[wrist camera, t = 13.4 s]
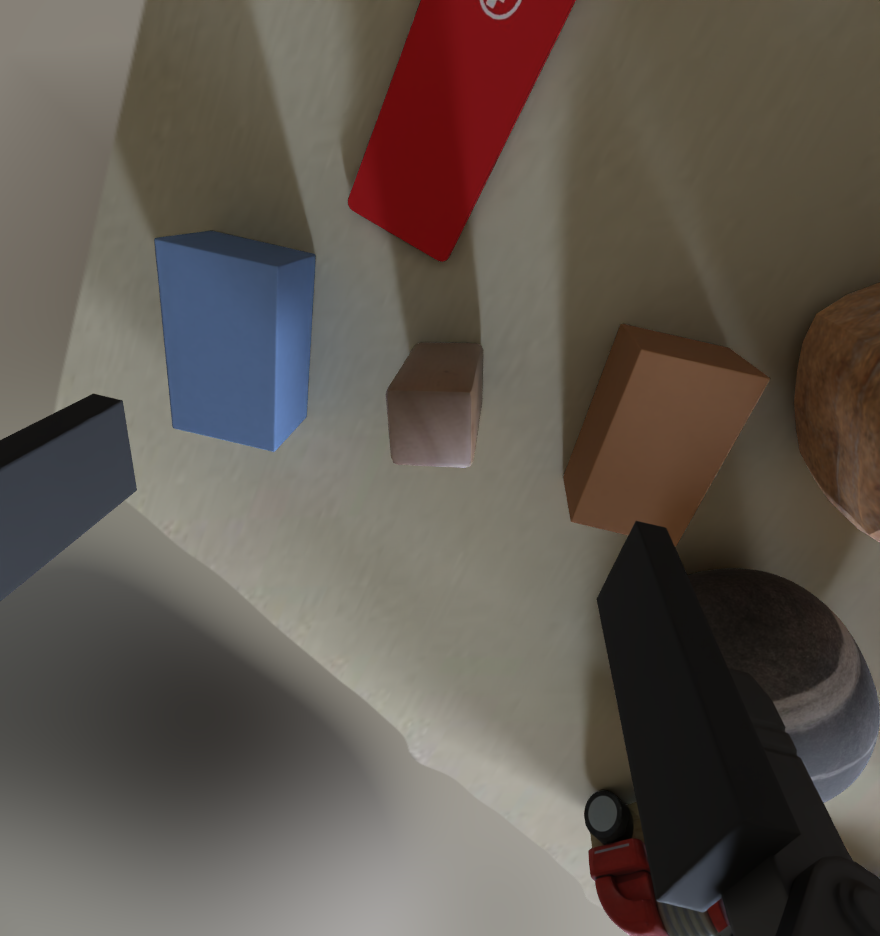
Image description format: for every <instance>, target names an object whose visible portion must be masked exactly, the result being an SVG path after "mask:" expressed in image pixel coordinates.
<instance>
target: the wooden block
mask: <svg viewBox="0 0 880 936" xmlns="http://www.w3.org/2000/svg"><path fill="white" fill-rule="evenodd" d="M482 391H483V348H482V346H481V345H480V344H477V343H423V342H420V343H418V344H416V345H415V346H414V348H413V349H412V351H411V353H410V354H409V356H408V357H407V359H406V360H405V362H404V364H403V365H402V367H401V368H400V370H399V371H398V373H397V374H396V376H395V378H394V379H393V381H392V382H391V384H390V385H389V387H388V389H387V392H386V403H387V415H388V427H389V439H390V451H391V458H392V460H393V463H395V464H398V465H415V466H438V467H461V468H465V467H469V466H471V464H472V462H473V460H474V454H475V448H476V441H477V434H478V428H479V421H480V415H481V408H482Z"/></svg>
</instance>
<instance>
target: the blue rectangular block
mask: <svg viewBox="0 0 880 936" xmlns="http://www.w3.org/2000/svg"><path fill="white" fill-rule="evenodd" d="M154 242H155V252H156V262H157V272H158V283H159V293H160V303H161V313H162V324H163V334H164V344H165V354H166V365H167V375H168V385H169V395H170V406H171V416H172V426H173V428H175V429H179V430H183V431H188V432H192V433H196V434H200V435H205V436H209V437H213V438H217V439H222V440H226V441H230V442H234V443H239V444H243V445H247V446H251V447H256V448H260V449H264V450H268V451H273V452H274V451H276V450H277V448H278V447H279V446H280V445H281V444H282V443H283V442H284V441H285V440H286V439H287V438H288V437H289V435H290V434H291V433H292V432H293V431H294V430H295V429H296V428H297V427H298V426H299V425H300V423H301V422H302V421H303V420H304V419H305V418H306V417H307V400H308V382H309V365H310V347H311V329H312V312H313V294H314V276H315V259H316V255H315V254H313V253H308V252H304V251H299V250H295V249H291V248H286V247H282V246H277V245H273V244H269V243H264V242H260V241H255V240H251V239H247V238H242V237H238V236H233V235H229V234H224V233H220V232H216V231H205V232H197V233H189V234H182V235H174V236H166V237H159V238H155V239H154Z"/></svg>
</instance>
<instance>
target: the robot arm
mask: <svg viewBox="0 0 880 936" xmlns="http://www.w3.org/2000/svg"><path fill="white" fill-rule="evenodd" d="M136 490H137V488H136V482H135V475H134V469H133V463H132V457H131V450H130V444H129V438H128V431H127V425H126V419H125V413H124V406H123V401H122V400H118V399H113V398H109V397H105V396H101V395H96V394H92V395H90V396H88V397H86V398H84V399H82V400H80V401H78V402H76V403H74V404H72V405H70V406H68V407H66V408H64V409H62V410H60V411H58V412H56V413H54V414H52V415H50V416H48V417H46V418H44V419H42V420H40V421H38V422H36V423H34V424H32V425H30V426H28V427H26V428H24V429H22V430H20V431H18V432H16V433H14V434H12V435H10V436H8V437H6V438H4V439H2V440H0V601H1V600H3V599H4V598H5V597H6V596H7V595H9V594H10V593H11V592H12V591H14V590H15V589H16V588H17V587H18V586H20V585H21V584H22V583H24V582H25V581H26V580H27V579H28V578H30V577H31V576H32V575H33V574H34V573H36V572H37V571H38V570H39V569H41V568H42V567H43V566H44V565H45V564H47V563H48V562H49V561H51V560H52V559H53V558H54V557H55V556H57V555H58V554H59V553H60V552H62V551H63V550H64V549H65V548H66V547H68V546H69V545H70V544H71V543H73V542H74V541H75V540H76V539H78V538H79V537H80V536H81V535H82V534H84V533H85V532H86V531H87V530H89V529H90V528H91V527H92V526H93V525H95V524H96V523H97V522H98V521H100V520H101V519H102V518H103V517H105V516H106V515H107V514H108V513H109V512H111V511H112V510H113V509H114V508H116V507H117V506H118V505H119V504H120V503H122V502H123V501H124V500H125V499H127V498H128V497H129V496H130V495H132V494H133V493H134V492H135V491H136ZM597 604H598V609H599V614H600V619H601V624H602V629H603V634H604V639H605V644H606V649H607V654H608V659H609V664H610V669H611V675H612V680H613V685H614V690H615V695H616V700H617V705H618V710H619V715H620V720H621V725H622V730H623V735H624V740H625V746H626V751H627V756H628V761H629V766H630V771H631V776H632V781H633V786H634V791H635V796H636V801H637V806H638V812H639V817H640V822H641V827H642V832H643V837H644V842H645V847H646V852H647V857H648V862H649V867H650V872H651V877H652V883H653V888H654V893H655V898H656V901H658V902H662V903H666V904H670V905H674V906H678V907H682V908H686V909H690V910H695V911H699V912H705V911H706V910H707V909H708V908H710V907H711V906H712V905H713V904H715V903H716V902H717V901H718V900H720V899H721V898H722V899H723V903H724V906H725V910H726V913H727V917H728V920H729V924H730V925H729V926H727V927H726V928H725V929H723V930H722V931H721V932H719V933H718V934H717V935H715V936H880V879H879V878H878V877H877V876H875V875H874V874H872V873H871V872H869V871H868V870H867V869H865V868H864V867H862V866H861V865H859V864H858V863H856V862H854V861H853V860H852V858H851V856H850V855H849V853H848V851H847V850H846V848H845V846H844V844H843V842H842V840H841V838H840V836H839V834H838V832H837V830H836V828H835V826H834V824H833V822H832V820H831V818H830V816H829V814H828V812H827V810H826V808H825V806H824V803H823V801H822V799H821V797H820V795H819V793H818V791H817V789H816V787H815V785H814V783H813V781H812V779H811V777H810V775H809V773H808V771H807V769H806V767H805V765H804V763H803V761H802V759H801V757H798V756H797V749H796V747H795V745H794V743H793V741H792V739H791V737H790V735H789V733H786V732H785V728H786V727H785V725H784V723H783V721H782V719H781V717H780V715H779V713H778V711H777V709H776V707H775V705H774V703H773V701H772V699H771V698H770V697H769V696H768V694H767V693H766V692H765V691H764V690H763V689H762V687H761V686H760V685H759V684H758V683H757V681H756V680H755V679H754V678H753V677H752V676H751V674H750V673H747V672H743V671H739V670H735V669H731V668H728V667H727V664H726V662H725V660H724V658H723V655H722V653H721V651H720V649H719V646H718V644H717V642H716V639H715V637H714V635H713V633H712V630H711V628H710V626H709V624H708V621H707V619H706V617H705V614H704V612H703V610H702V608H701V605H700V603H699V601H698V599H697V596H696V594H695V592H694V589H693V587H692V585H691V583H690V580H689V578H688V576H687V574H686V571H685V569H684V567H683V564H682V562H681V560H680V558H679V555H678V553H677V551H676V549H675V546H674V544H673V542H672V539H671V537H670V535H669V533H668V530H667V528H665V527H661V526H657V525H653V524H648V523H644V522H640V521H635V523H634V525H633V527H632V529H631V531H630V533H629V535H628V537H627V539H626V541H625V543H624V545H623V547H622V549H621V551H620V553H619V555H618V557H617V559H616V561H615V563H614V565H613V567H612V569H611V571H610V573H609V575H608V577H607V579H606V581H605V583H604V585H603V587H602V589H601V591H600V593H599V595H598V597H597Z"/></svg>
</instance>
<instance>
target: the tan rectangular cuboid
mask: <svg viewBox="0 0 880 936" xmlns="http://www.w3.org/2000/svg"><path fill="white" fill-rule="evenodd" d="M769 380H770V378H769V377H768V376H767V375H765V374H764V373H763V372H761V371H760V370H759V369H757V368H756V367H754V366H753V365H752V364H750V363H749V362H748V361H746V360H745V359H743V358H742V357H741V356H739V355H738V354H737V353H735V352H734V351H733V350H731V349H730V348H728V347H723V346H719V345H714V344H710V343H706V342H701V341H697V340H692V339H688V338H683V337H679V336H675V335H670V334H666V333H661V332H657V331H653V330H648V329H644V328H639V327H635V326H631V325H626V324H620V327H619V329H618V332H617V335H616V337H615V340H614V343H613V345H612V348H611V351H610V353H609V356H608V359H607V361H606V364H605V367H604V369H603V372H602V375H601V377H600V380H599V383H598V385H597V388H596V391H595V393H594V396H593V399H592V401H591V404H590V407H589V409H588V412H587V415H586V417H585V420H584V423H583V425H582V428H581V431H580V433H579V436H578V439H577V441H576V444H575V447H574V449H573V452H572V455H571V457H570V460H569V462H568V465H567V468H566V470H565V473H564V476H563V479H564V485H565V491H566V497H567V503H568V508H569V514H570V520H571V522H574V523H578V524H582V525H587V526H591V527H595V528H599V529H604V530H608V531H612V532H616V533H621V534H625V535H629V533H630V531H631V529H632V527H633V525H634V523H635V521H640V522H644V523H648V524H653V525H657V526H661V527H665V528H667V530H668V533H669V535H670V537H671V539H672V542H673V544H674V546H677V544H678V542H679V540H680V539H681V537H682V535H683V533H684V531H685V530H686V528H687V526H688V524H689V523H690V521H691V519H692V517H693V515H694V514H695V512H696V510H697V508H698V507H699V505H700V503H701V501H702V500H703V498H704V496H705V494H706V492H707V491H708V489H709V487H710V485H711V484H712V482H713V480H714V478H715V476H716V475H717V473H718V471H719V469H720V468H721V466H722V464H723V462H724V460H725V459H726V457H727V455H728V453H729V452H730V450H731V448H732V446H733V444H734V443H735V441H736V439H737V437H738V436H739V434H740V432H741V430H742V428H743V427H744V425H745V423H746V421H747V420H748V418H749V416H750V414H751V412H752V411H753V409H754V407H755V405H756V404H757V402H758V400H759V398H760V396H761V395H762V393H763V391H764V389H765V388H766V386H767V384H768V382H769Z"/></svg>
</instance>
